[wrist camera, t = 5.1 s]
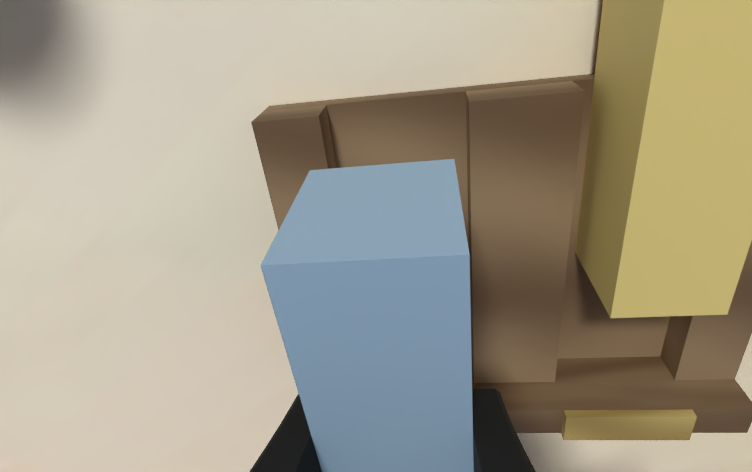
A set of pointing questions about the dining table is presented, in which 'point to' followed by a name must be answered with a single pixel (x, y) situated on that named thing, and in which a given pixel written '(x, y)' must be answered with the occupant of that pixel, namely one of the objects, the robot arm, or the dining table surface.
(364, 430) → the stick blue
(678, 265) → the stick ochre
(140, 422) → the dining table surface
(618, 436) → the comb board
